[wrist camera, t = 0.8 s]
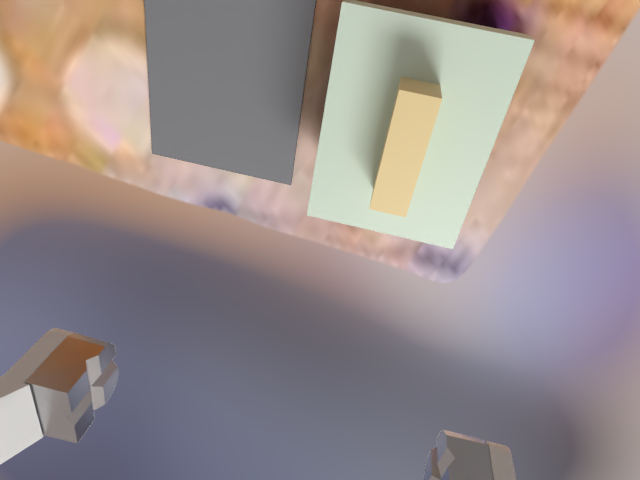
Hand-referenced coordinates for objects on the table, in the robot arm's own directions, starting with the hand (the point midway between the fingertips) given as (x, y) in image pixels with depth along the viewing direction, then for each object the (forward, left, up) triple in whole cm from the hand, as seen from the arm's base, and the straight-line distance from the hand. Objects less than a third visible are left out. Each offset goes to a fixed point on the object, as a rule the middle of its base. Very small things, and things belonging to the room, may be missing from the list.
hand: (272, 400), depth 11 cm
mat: (+3, -14, -35) cm, 38 cm away
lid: (+3, +3, -29) cm, 30 cm away
